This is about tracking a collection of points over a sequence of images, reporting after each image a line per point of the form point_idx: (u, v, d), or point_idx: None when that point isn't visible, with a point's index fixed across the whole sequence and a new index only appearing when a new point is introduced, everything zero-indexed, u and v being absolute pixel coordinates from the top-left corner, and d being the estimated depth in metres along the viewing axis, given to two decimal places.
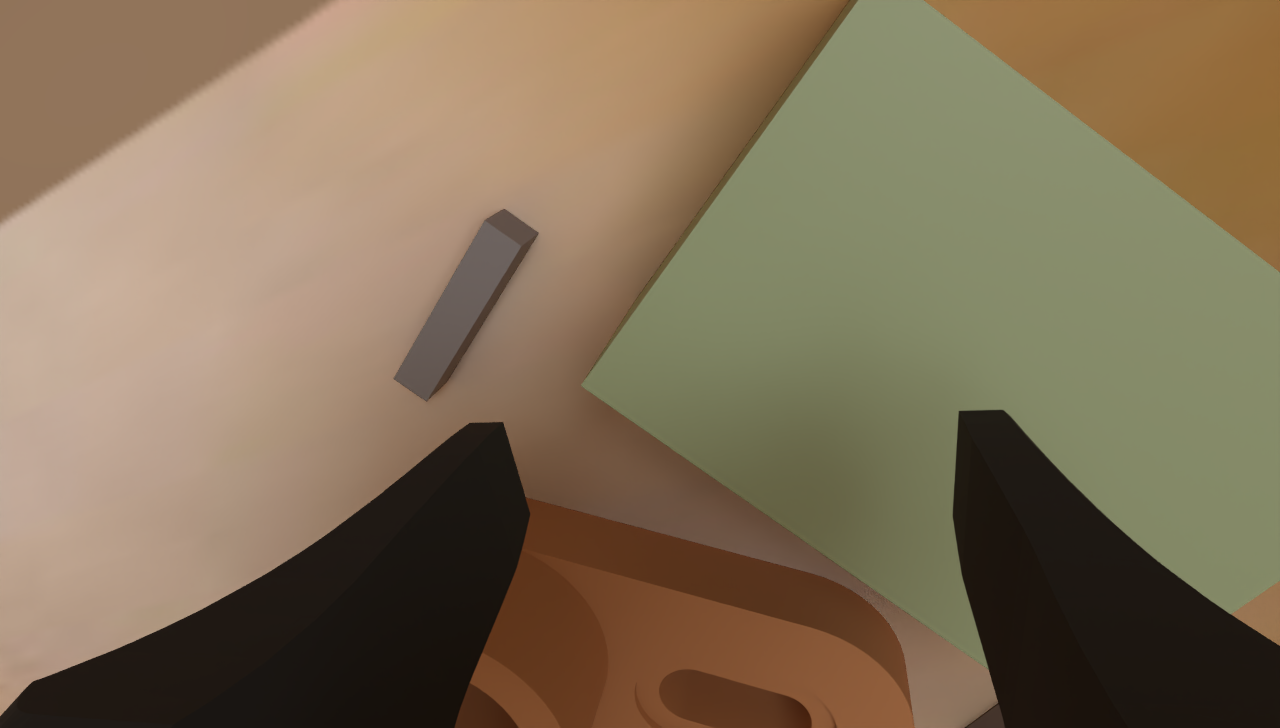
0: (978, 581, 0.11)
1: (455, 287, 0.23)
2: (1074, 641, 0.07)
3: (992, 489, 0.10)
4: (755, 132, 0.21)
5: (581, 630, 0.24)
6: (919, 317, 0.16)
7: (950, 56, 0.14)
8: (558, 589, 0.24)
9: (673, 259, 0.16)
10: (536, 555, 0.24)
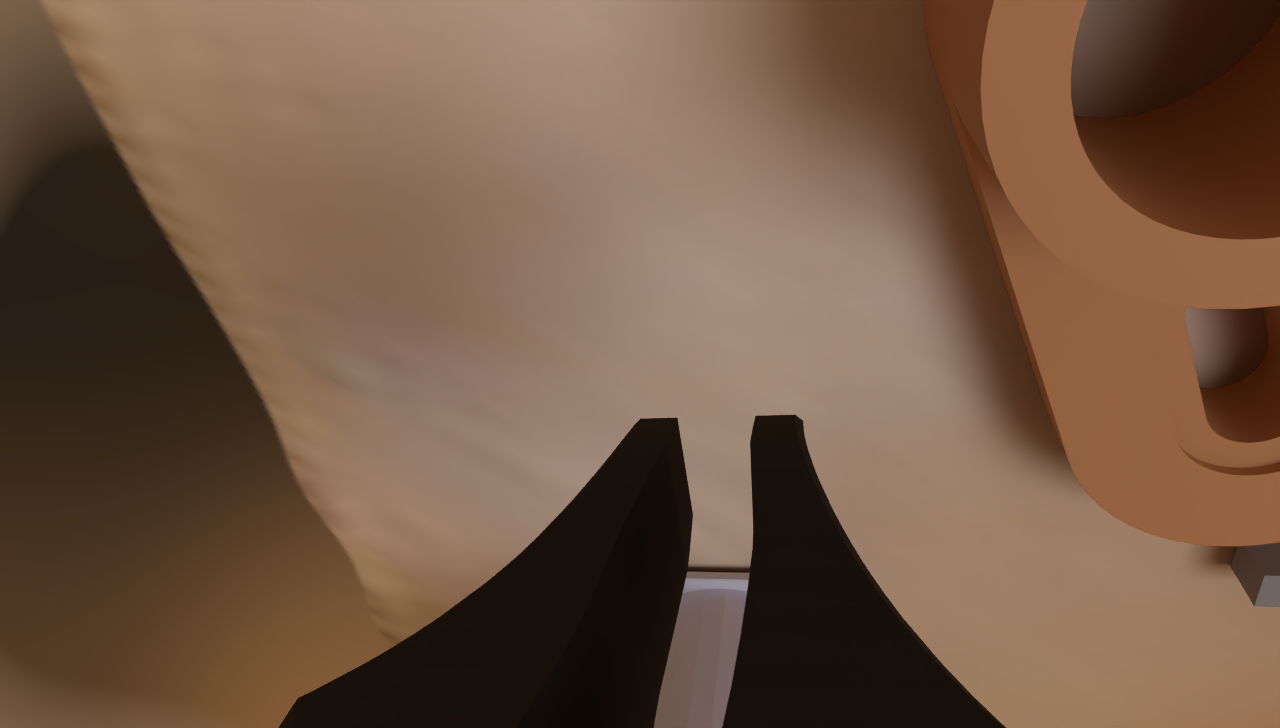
0: None
1: None
2: None
3: None
4: None
5: None
6: None
7: None
8: None
9: None
10: None
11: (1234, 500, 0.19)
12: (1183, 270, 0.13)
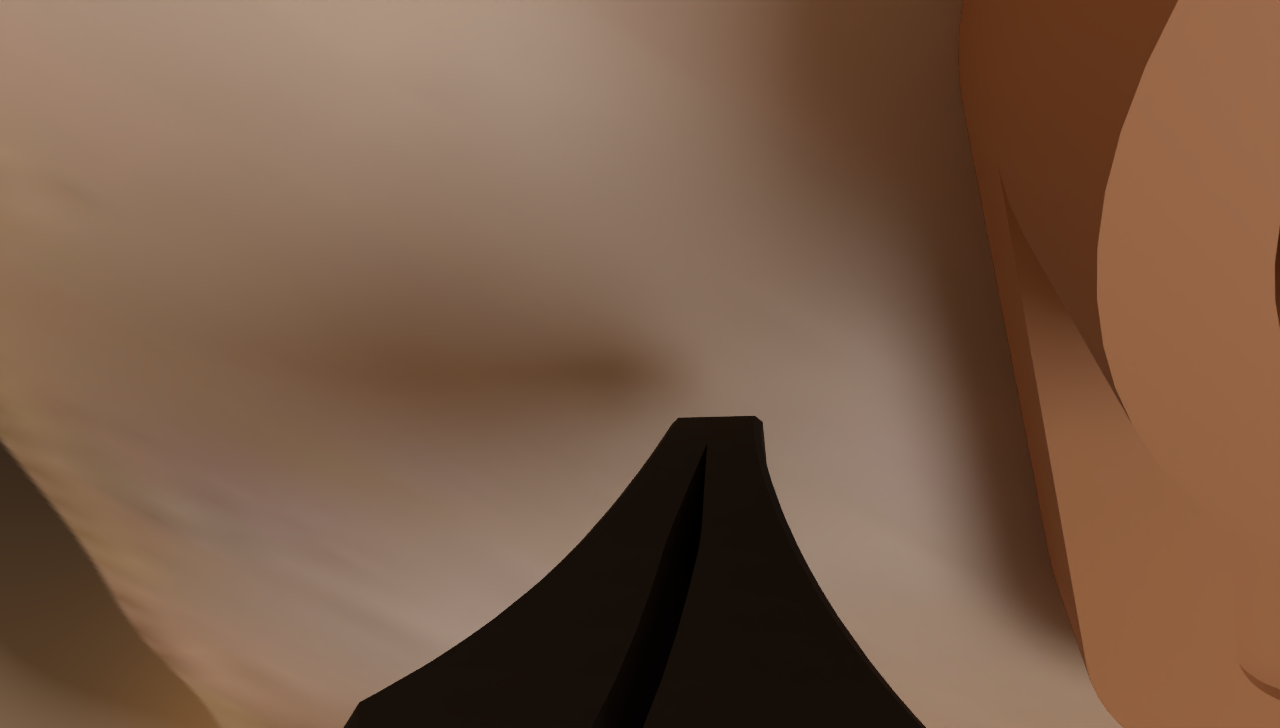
0: None
1: None
2: (682, 627, 0.08)
3: None
4: None
5: None
6: None
7: None
8: None
9: None
10: None
11: None
12: None
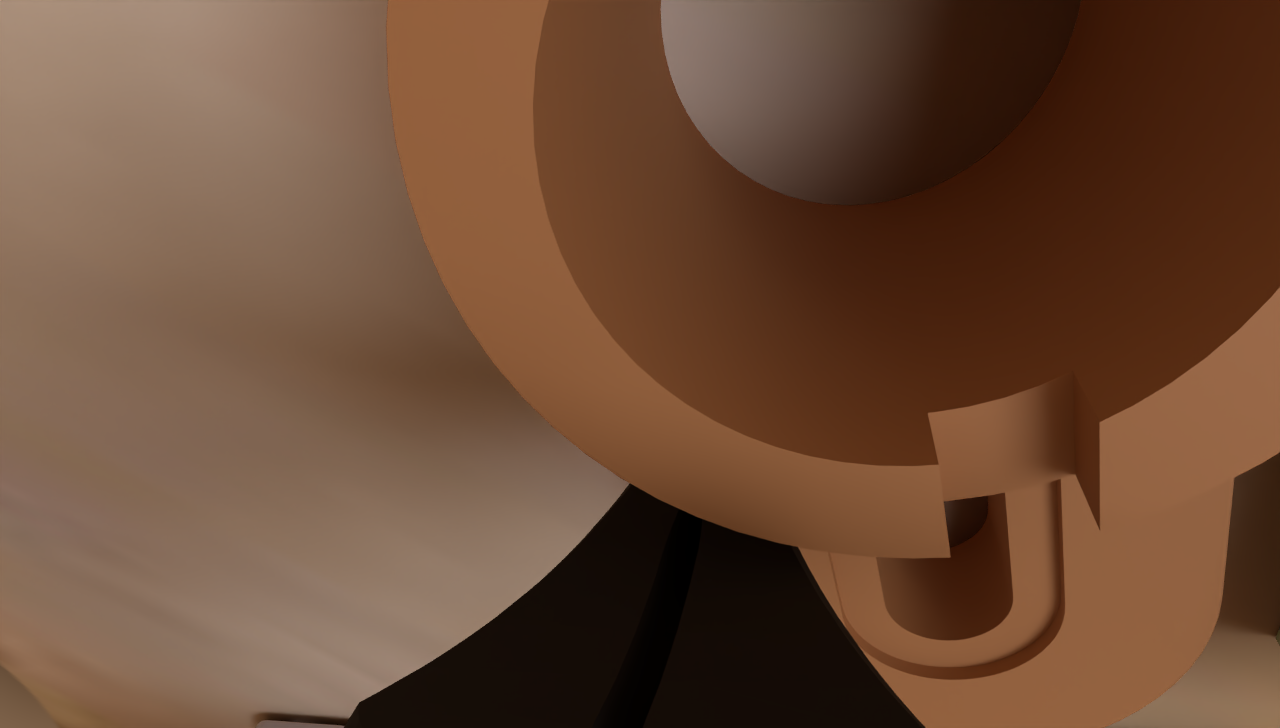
0: None
1: None
2: (682, 627, 0.08)
3: None
4: None
5: None
6: None
7: None
8: None
9: None
10: None
11: (909, 701, 0.16)
12: (734, 482, 0.08)
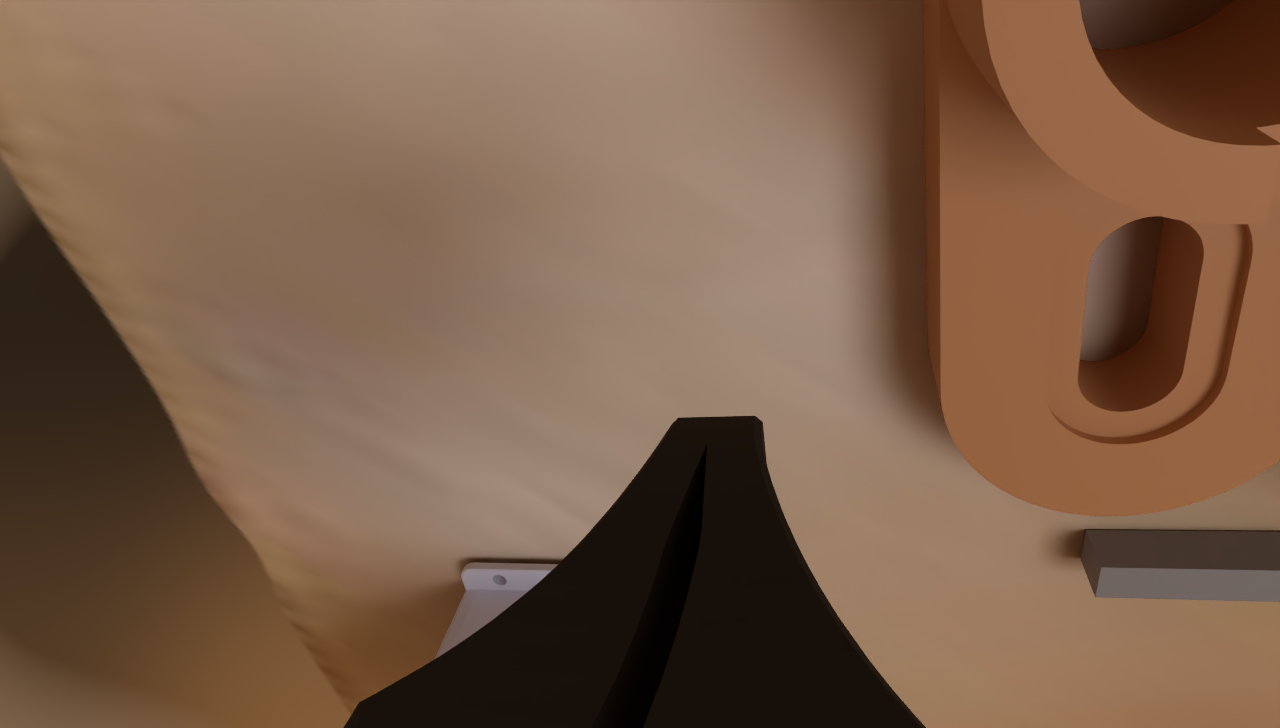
0: None
1: None
2: (682, 627, 0.08)
3: None
4: None
5: None
6: None
7: None
8: None
9: None
10: None
11: (1078, 465, 0.20)
12: (1130, 160, 0.12)
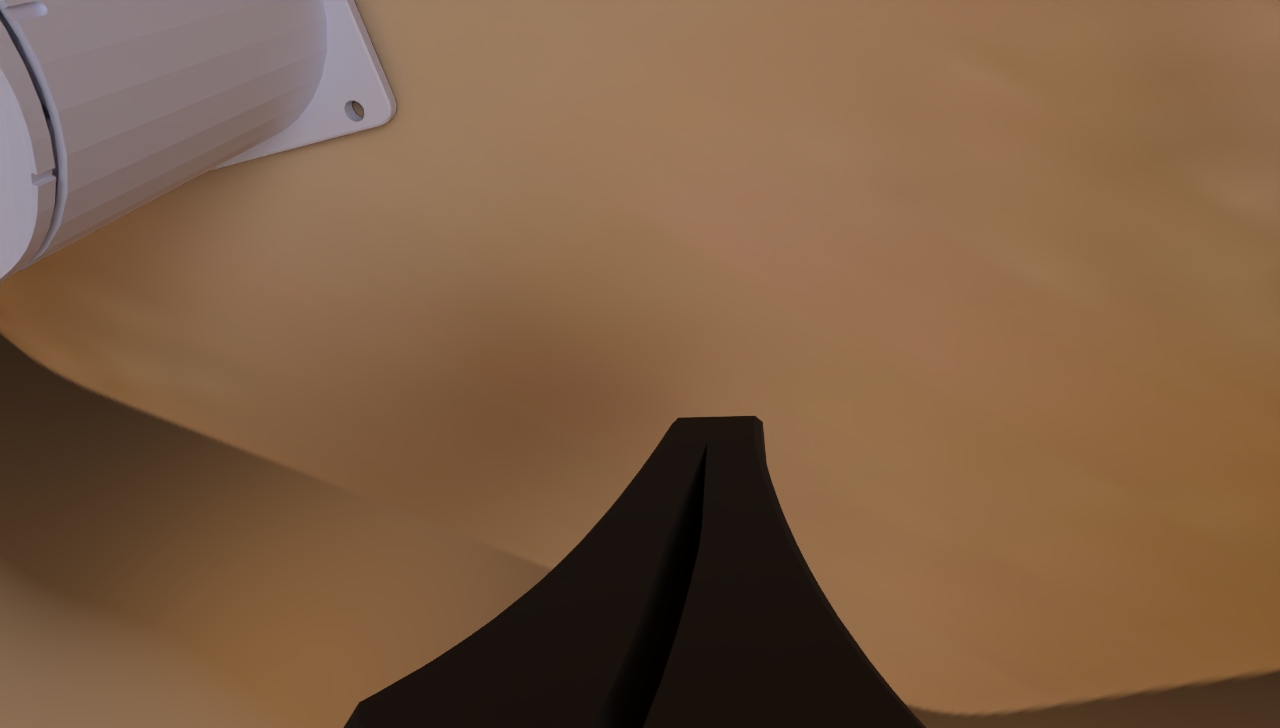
0: None
1: None
2: (682, 627, 0.08)
3: None
4: None
5: None
6: None
7: None
8: None
9: None
10: None
11: None
12: None
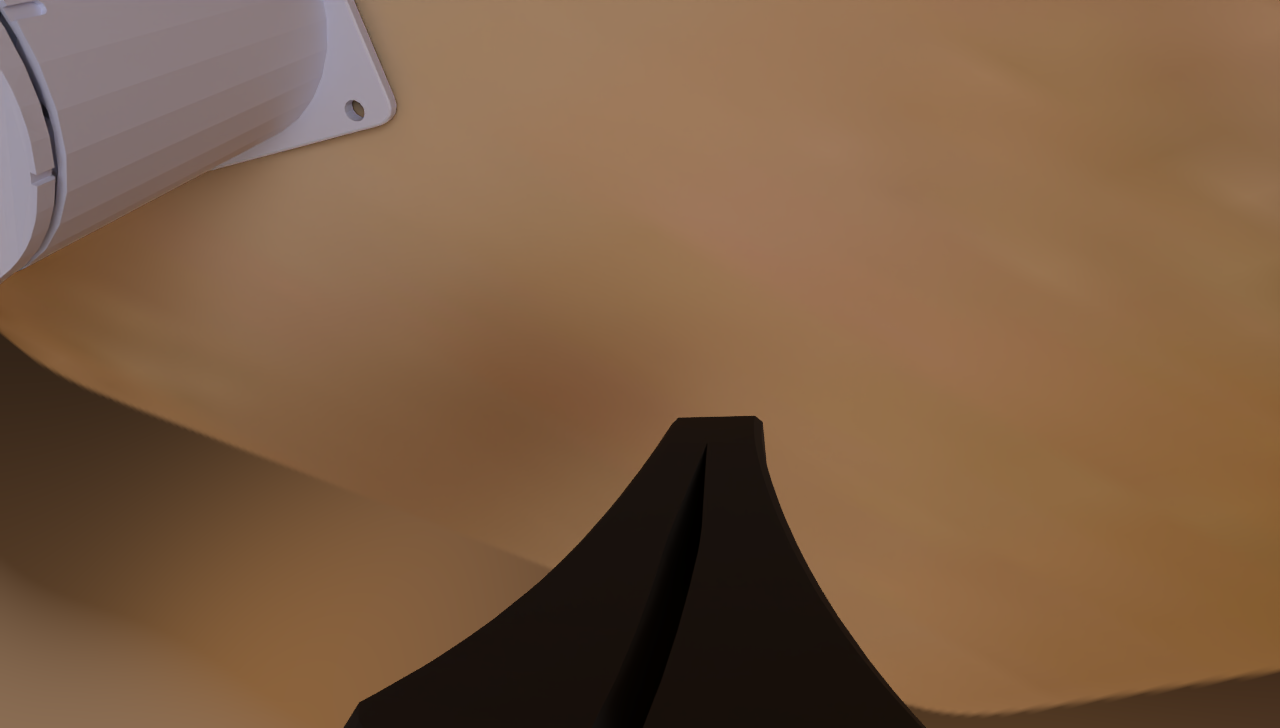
0: None
1: None
2: (682, 627, 0.08)
3: None
4: None
5: None
6: None
7: None
8: None
9: None
10: None
11: None
12: None
